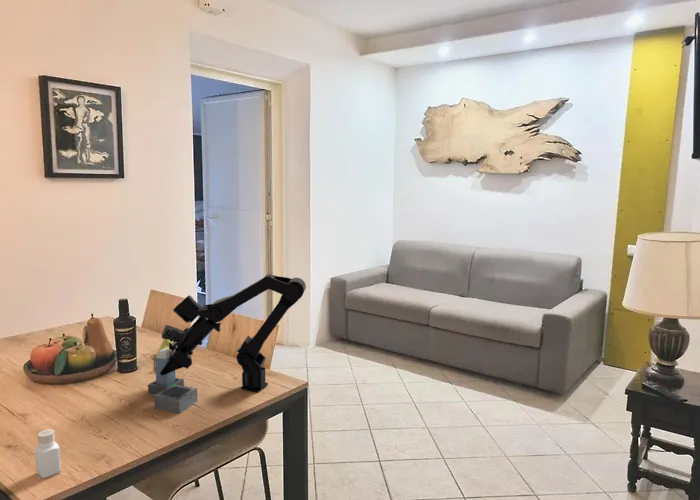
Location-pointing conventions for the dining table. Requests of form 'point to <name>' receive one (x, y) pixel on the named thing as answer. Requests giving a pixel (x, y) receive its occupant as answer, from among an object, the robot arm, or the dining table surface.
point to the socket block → (175, 398)
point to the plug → (160, 363)
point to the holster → (155, 389)
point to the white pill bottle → (47, 454)
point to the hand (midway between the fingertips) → (160, 371)
